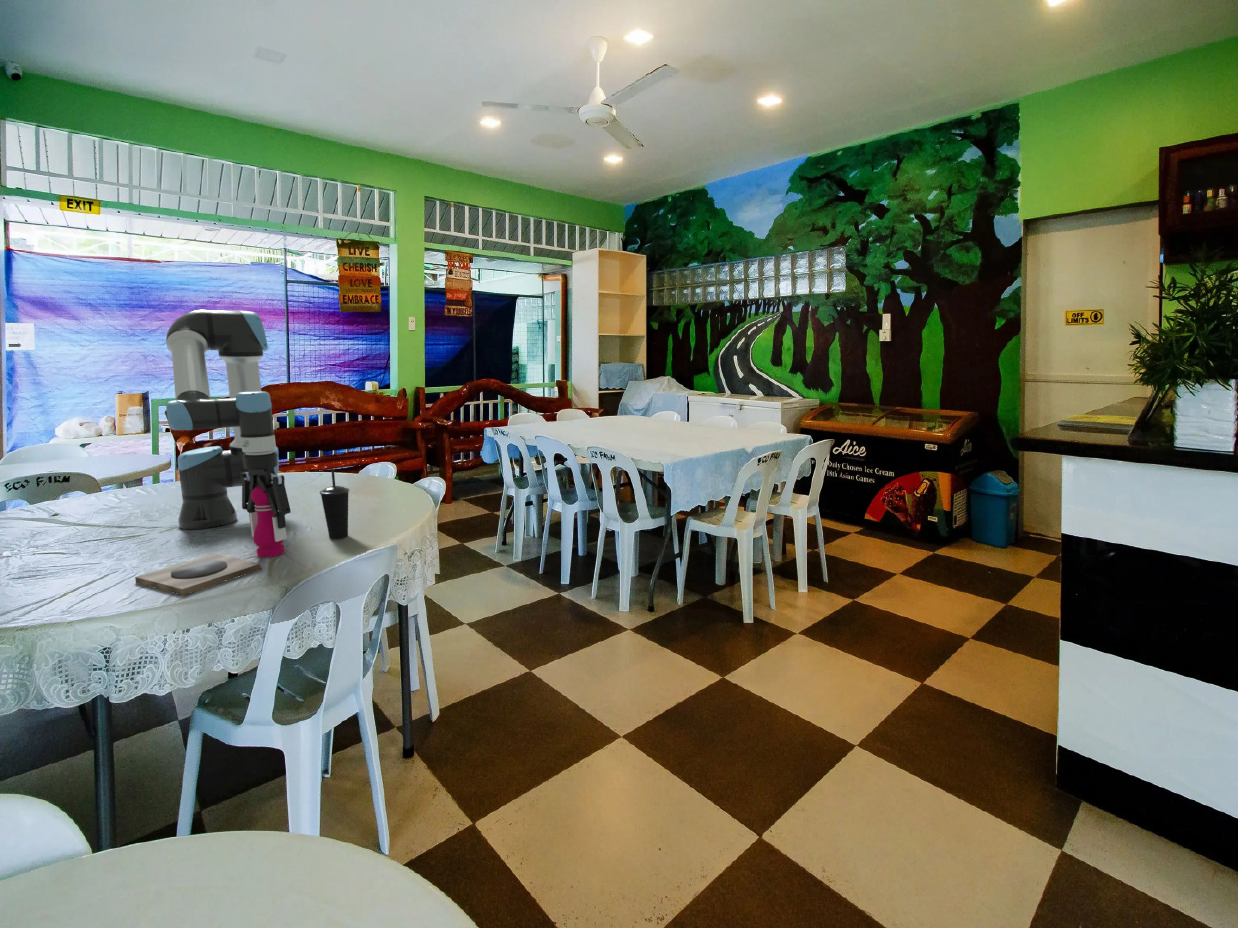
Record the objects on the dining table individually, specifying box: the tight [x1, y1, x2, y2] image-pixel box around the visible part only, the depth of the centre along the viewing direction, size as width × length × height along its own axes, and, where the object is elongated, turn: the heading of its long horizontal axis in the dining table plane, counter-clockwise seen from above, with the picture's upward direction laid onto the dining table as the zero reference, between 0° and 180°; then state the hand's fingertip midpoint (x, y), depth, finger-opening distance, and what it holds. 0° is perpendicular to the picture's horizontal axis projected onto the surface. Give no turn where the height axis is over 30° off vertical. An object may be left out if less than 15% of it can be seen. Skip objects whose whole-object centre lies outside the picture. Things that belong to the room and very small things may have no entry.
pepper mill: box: [251, 487, 285, 558], centre depth 160 cm, size 7×7×20 cm
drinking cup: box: [319, 467, 350, 540], centre depth 174 cm, size 8×8×20 cm
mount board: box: [134, 553, 262, 596], centre depth 145 cm, size 18×18×2 cm
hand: (269, 537), depth 161 cm, fingers open, 8 cm apart
